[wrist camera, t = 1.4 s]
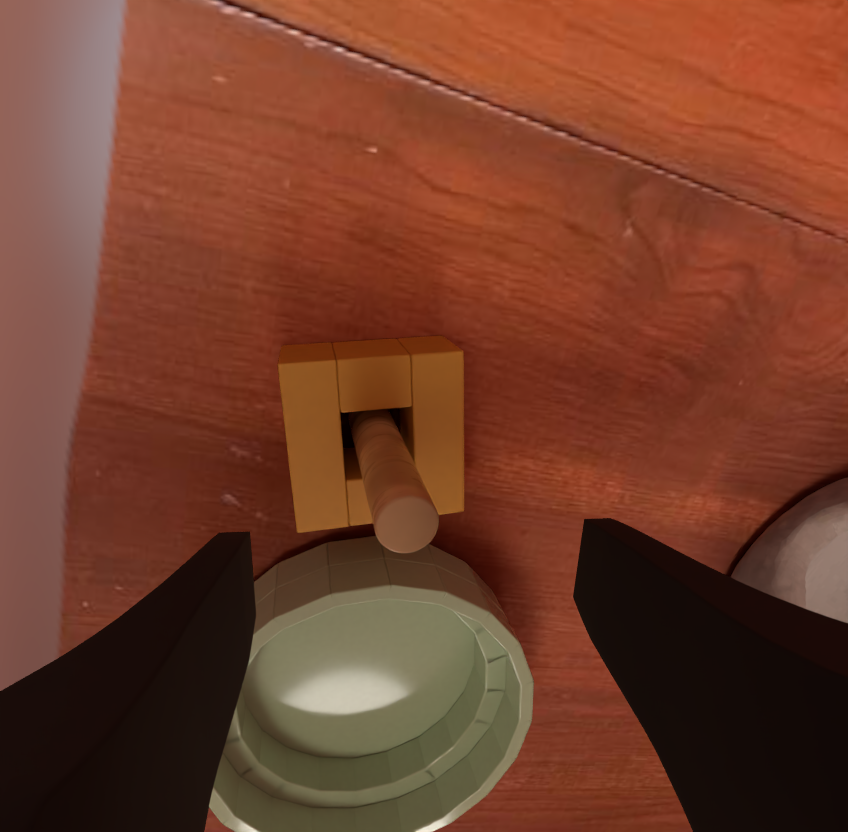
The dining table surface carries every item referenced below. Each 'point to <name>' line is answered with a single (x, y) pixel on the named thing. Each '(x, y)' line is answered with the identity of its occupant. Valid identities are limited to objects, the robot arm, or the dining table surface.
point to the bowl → (372, 695)
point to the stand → (360, 391)
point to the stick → (392, 483)
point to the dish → (805, 554)
